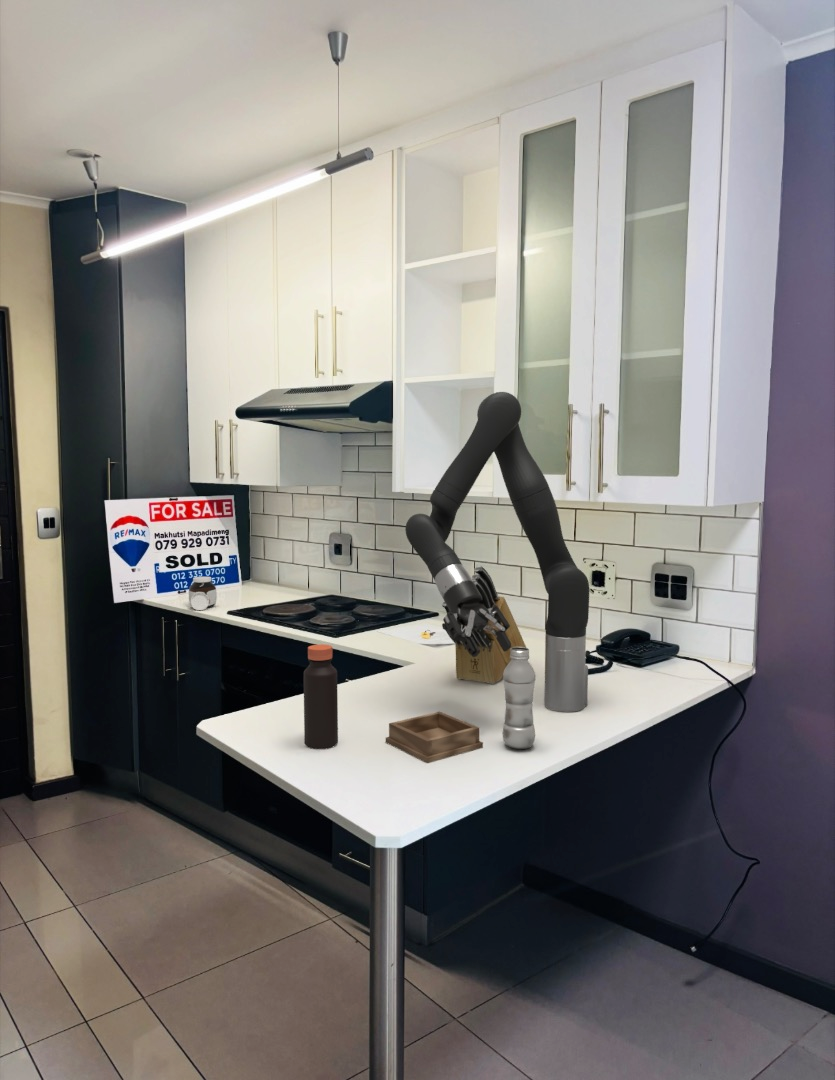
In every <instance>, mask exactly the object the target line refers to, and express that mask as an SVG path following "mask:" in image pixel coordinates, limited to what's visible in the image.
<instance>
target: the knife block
mask: <svg viewBox="0 0 835 1080" xmlns="http://www.w3.org/2000/svg"><path fill="white" fill-rule="evenodd" d="M473 570H474V571H473V572H475V574H473V575H472V576H471V579H472V580H473V582H474V584H475V585H476V587H477V589H478V591H479V592H480V594H481V596H482V600H483V605H484V606H485V607H486V608H487V609H489V608H492V607H493V606H494V605H496V606H498V608H499V609H500V611H501V612H502V614H503V615H504V617H505V618H506V620H507V622H508V623H509V625H510V627H509V628H508V629H507V630H506V632H505V633H506V635H507V637H508V639H509V640H510V642H511V648H513V647H525V648H527V645H526V644H525V641H524V639H523V637H522V634H521V632H520V629H519V627H518V625H517V623H516V621H515V618H514V615H513V613H512V611H511V609H510V607H509V605H508V603H507V601H506V599H505V597H504V596H499V594H498V593H497V591H496V586H495V584H494V581H493V579H492V577H491V575H490V573H488V570H486V569H485V568H484V567H483V566H482V565H478V566H475V568H474V569H473ZM441 607H442V608H443V609H445V611H446V614H447V613H448V612H449V611H450V610H449V609H448V607H447V605H446V603H445V601H444V602H442V603H441ZM458 624H459V626H460V628H461V626H462V625H461V624H460V623H458ZM490 624H491V622H489V621H488V624H487V626H489V625H490ZM501 624H502V622H501ZM502 626H503V624H502ZM441 627H442V629H443V630H444V631H445V632H446V633H447V635H448V637H449V639H451V640H452V638H451V636H450V633H449V631H448V629H447V627H446V625H445V623H444V622H443V623H442V624H441ZM493 628H494V629H495V630H498V629H497V628H495V627H493ZM470 637H473V639H474V640H475V642H476V644H477V646H478V648H479V650H480V653H479V654H478V655H477V657H472V655H470V654H469V652H468V650H467V649H466V647H465V645H464V643H462V642H461V641H458V640H457V641H456V642H455V641H453V640H452V642H453V643H454V644H455V676H456V679H458V680H460V679H464V680H463V681H474V682H481V683H488V684H489V685H495V683H497V682H498V681H500V680H501V679H503V673H504V670H505V668H506V666H507V665H508V664H509V662H510V661H511V658H510V651H511V648H510V649H509V650H508V651H505V652H504V651H503V649H502V648H501V646H500V644H499V642H498V641H497V639H496V636H495V635H493V634H492V633H490V632H486V631H484V630H475V631H472V632H471V636H470Z"/></svg>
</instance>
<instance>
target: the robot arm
mask: <svg viewBox="0 0 835 1080" xmlns="http://www.w3.org/2000/svg"><path fill="white" fill-rule="evenodd" d="M476 413H477V415H476V416H477V421H476V423H475V426H474V428H473V430H472V432H471V434H470V436H469V438H468V439H467V440H466V443H465V444H464V446H463V447H462V448H461V449H460V452H458V454H457V455H456V457H455V458H454V459H453V461H452V462H451V463H450V465H449V466H448V467H447V469H446V470H445V472H444V474H443V475H442V476H441V478H440V479H439V482H438V483H437V485H436V486H435V488H434V490H433V491H432V493H431V494H430V497H429V502H430V505H431V506H432V510H431V512H430V515H427V514H424V513H416V514H414V515H412V516H410V517H409V519H408V520H407V522H406V525H405V535H406V538H407V540H408V543H409V544H410V545H411V547H412V548H413V549H414V551H415V552H416V554H417V555H418V556H419V558H421V560H422V561H423V562H424V564H425V565H426V567H427V569H428V571H429V573H430V574H431V577H432V579H433V581H434V582H435V585H436V588H437V590H438V591H439V593H440V596H441V598H442V599H443V601H444V602H445V603H446V605H447V607H448V609H449V610H450V611H449V612H448V613H447V612H446V615H445V616H444V617H443V620H442V621H443V623H445V625H446V627H447V629H448V631H449V633H450V636H451V638H452V639H451V638H450V639H451V641H452V642H453V641H455V642H456V641H457V640H458V641H461V642H462V643H464V645H465V647H466V649H467V650H468V652H469V654H470V655H472V657H477V655H478V654H479V653H480V650H479V648H478V646H477V644H476V642H475V640H474V639H473V637H470V636H471V632H472V631H475V630H484V631H486V632H490V633H492V634H493V635H495V636H496V639H497V641H498V642H499V644H500V646H501V648H502V649H503V651H504V652H505V651H508V650H509V649H510V648H511V642H510V640H509V639H508V637H507V635H506V633H505V632H506V630H507V629H508V628H509V627H510V625H509V623H508V622H507V620H506V618H505V617H504V615H503V614H502V612H501V611H500V609H499V608H498V606H496V605H494V606H493V607H492V608H489V609H487V608H486V607H485V606H484V605H483V600H482V596H481V594H480V592H479V591H478V589H477V587H476V585H475V584H474V582H473V580H472V576H471V575H470V573H469V572H468V571H467V569H466V568H465V566H463V563H462V561H461V560H460V558H459V556H458V555H457V553H456V551H455V550H454V549H453V548H452V547H451V546H449V545H448V544H447V543H446V542H447V540H448V538H449V536H450V534H451V530H452V528H453V525H454V523H455V520H456V516H457V512H458V511H459V509H460V508H461V506H462V504H463V502H464V501H465V500H466V497H467V496H468V494H469V493H470V491H471V489H472V488H473V487H474V485H475V483H476V481H477V479H478V477H479V476H480V474H481V472H482V470H483V469H484V467H485V465H486V464H487V462H488V461H489V459H490V458H491V456H492V455H493V453H494V454H495V457H496V460H497V463H498V466H499V469H500V472H501V476H502V478H503V481H504V482H503V483H504V484H505V488H506V490H507V493H508V496H509V497H508V498H509V499H510V501H511V504H512V507H513V510H514V512H515V514H516V516H517V517H516V518H517V519H518V521H519V523H520V526H521V527H522V529H523V532H524V534H525V536H526V538H527V540H528V542H529V543H530V545H531V546H532V547H531V548H532V549H533V551H534V553H535V556H536V559H537V563H538V566H539V568H540V572H541V576H542V579H543V583H544V584H543V585H544V588H545V591H546V593H547V594H548V596H547V598H548V599H547V604H548V605H547V618H546V621H545V634H544V635H545V641H544V642H545V643H544V644H545V649H544V650H545V651H544V699H543V701H544V704H543V705H544V707H545V708H547V709H549V710H552V711H556V712H562V713H564V712H567V713H569V712H571V713H572V712H578V711H582V710H584V708H585V707H587V706H588V695H589V694H588V691H589V690H588V689H589V688H588V687H589V686H588V685H589V682H588V681H589V666H588V665H587V664H586V650H587V649H586V643H587V641H586V640H587V626H588V623H589V613H590V584H589V583H590V582H589V579H588V577H587V575H586V574H585V573H584V572H583V570H581V569H580V568H578V566H577V565H576V563H575V561H574V560H573V557H572V555H571V553H570V550H569V548H568V546H567V545H566V541H565V539H564V536H563V530H562V526H561V521H560V516H559V511H558V508H557V504H556V501H555V499H554V495H553V493H552V491H551V488H550V485H549V483H548V481H547V479H546V477H545V475H544V474H543V471H542V470H541V468H540V467H539V466H538V463H537V462H536V460H535V459H534V458H533V456H532V454H531V453H530V451H529V449H528V447H527V445H526V443H525V439H524V437H523V434H522V431H521V427H520V424H519V423H520V421H521V417H522V405H521V404H520V401H519V399H518V398H517V397H516V396H515V395H514V394H512V393H510V392H507V391H499V392H493V393H492V394H490V395H488V396H486V397H485V398H484V399H483V400H482V401H481V402H480V403H479V406H478V407H477V412H476ZM488 621H489V622H491V624H490V625H489V626H487V624H488ZM501 622H502V624H503V626H502V624H501ZM458 623H460V624H461V625H462V626H461V628H460V626H459V624H458ZM493 627H495V628H497V629H498V630H495V629H494V628H493Z"/></svg>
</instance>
